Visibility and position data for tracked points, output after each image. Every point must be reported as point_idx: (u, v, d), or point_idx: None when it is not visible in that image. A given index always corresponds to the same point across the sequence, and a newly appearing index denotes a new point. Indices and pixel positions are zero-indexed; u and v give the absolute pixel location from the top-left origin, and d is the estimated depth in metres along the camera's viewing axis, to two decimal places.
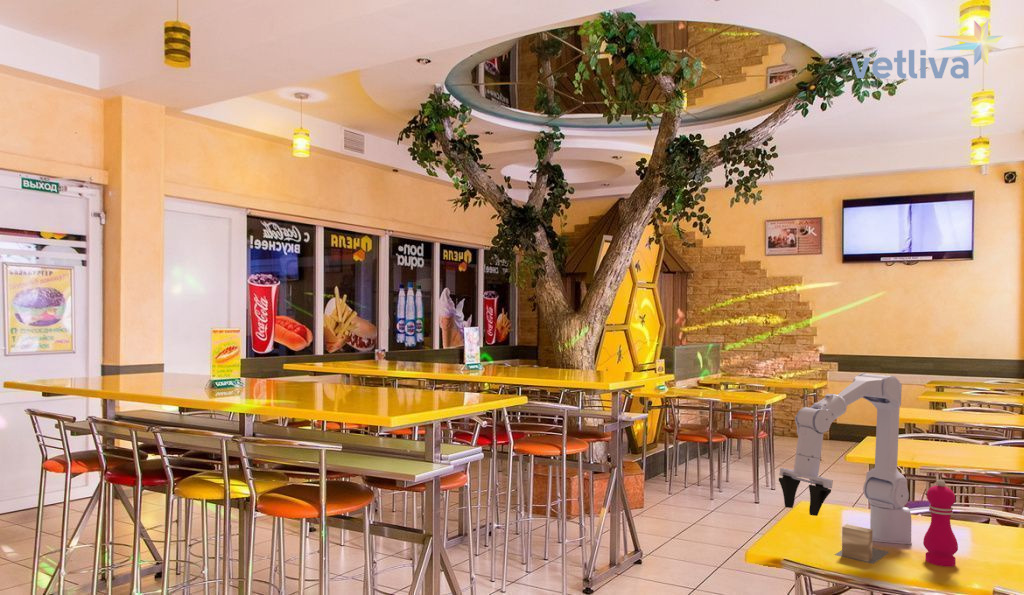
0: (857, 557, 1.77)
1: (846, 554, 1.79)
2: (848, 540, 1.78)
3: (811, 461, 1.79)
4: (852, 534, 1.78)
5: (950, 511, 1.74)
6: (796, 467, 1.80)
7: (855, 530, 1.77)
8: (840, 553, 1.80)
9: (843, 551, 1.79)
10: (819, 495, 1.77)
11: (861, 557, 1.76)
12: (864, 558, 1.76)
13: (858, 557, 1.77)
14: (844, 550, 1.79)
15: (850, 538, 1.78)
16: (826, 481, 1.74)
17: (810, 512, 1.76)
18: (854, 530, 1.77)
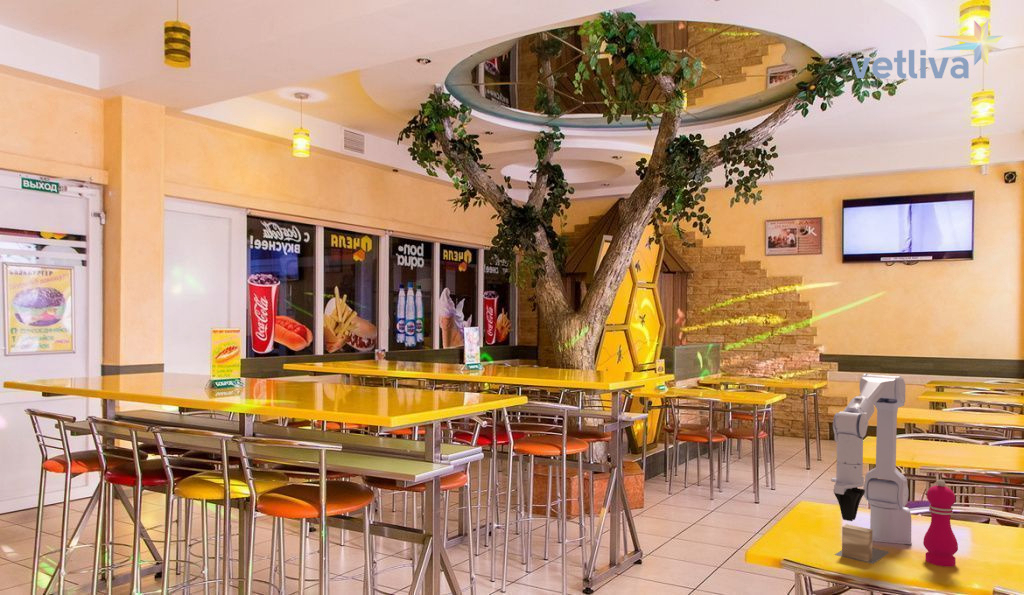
0: (857, 557, 1.77)
1: (846, 554, 1.79)
2: (848, 540, 1.78)
3: (839, 466, 1.74)
4: (852, 534, 1.78)
5: (950, 511, 1.74)
6: None
7: (855, 530, 1.77)
8: (840, 553, 1.80)
9: (843, 551, 1.79)
10: (849, 500, 1.73)
11: (861, 557, 1.76)
12: (864, 558, 1.76)
13: (858, 557, 1.77)
14: (844, 550, 1.79)
15: (850, 538, 1.78)
16: (834, 486, 1.70)
17: None
18: (854, 530, 1.77)
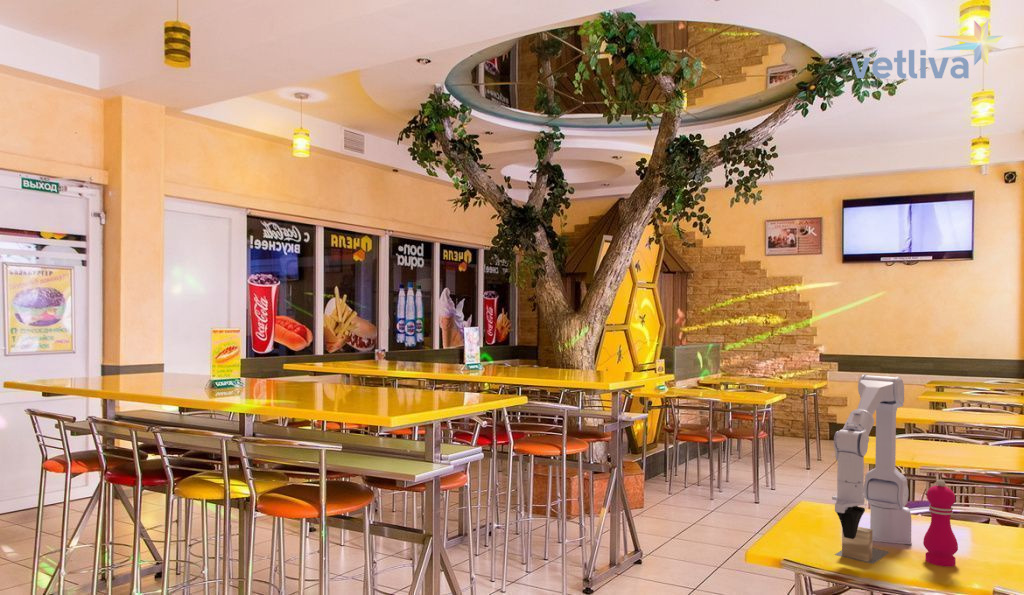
0: (857, 557, 1.77)
1: (846, 554, 1.79)
2: (848, 540, 1.78)
3: (840, 485, 1.74)
4: None
5: (950, 511, 1.74)
6: None
7: None
8: (840, 553, 1.80)
9: (843, 551, 1.79)
10: (851, 518, 1.74)
11: (861, 557, 1.76)
12: (864, 558, 1.76)
13: (858, 557, 1.77)
14: (844, 550, 1.79)
15: None
16: (835, 505, 1.70)
17: None
18: None
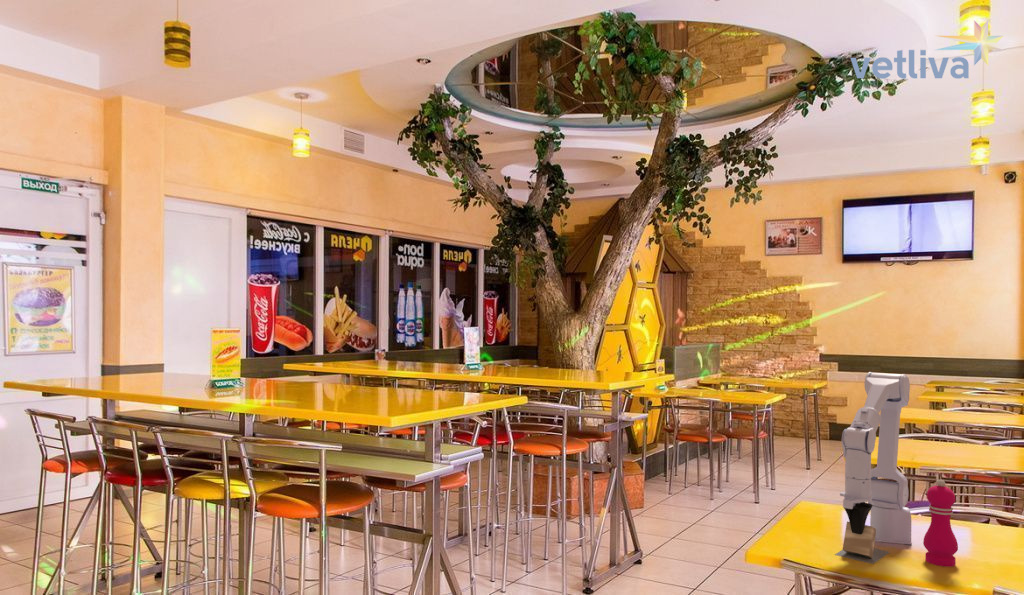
0: (858, 551, 1.77)
1: (846, 549, 1.79)
2: (851, 534, 1.80)
3: (848, 481, 1.78)
4: None
5: (950, 511, 1.74)
6: None
7: None
8: (840, 553, 1.80)
9: (844, 545, 1.80)
10: (858, 513, 1.78)
11: (862, 551, 1.77)
12: (865, 552, 1.76)
13: (859, 551, 1.77)
14: (845, 545, 1.79)
15: (853, 533, 1.80)
16: (843, 501, 1.74)
17: None
18: None
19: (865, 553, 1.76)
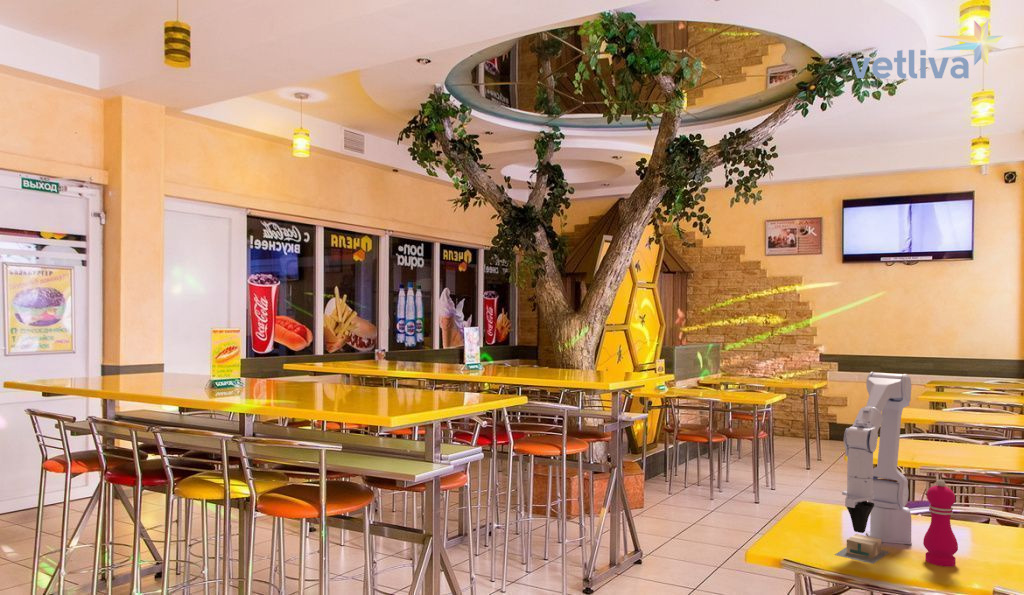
0: (862, 542, 1.79)
1: (851, 540, 1.81)
2: (858, 537, 1.83)
3: (850, 480, 1.79)
4: (865, 537, 1.84)
5: (950, 511, 1.74)
6: None
7: (868, 536, 1.84)
8: (840, 553, 1.80)
9: (849, 539, 1.82)
10: (860, 512, 1.79)
11: (866, 543, 1.79)
12: (869, 544, 1.78)
13: (863, 542, 1.79)
14: (850, 539, 1.82)
15: (860, 537, 1.84)
16: (845, 500, 1.75)
17: None
18: (867, 536, 1.84)
19: (869, 544, 1.78)
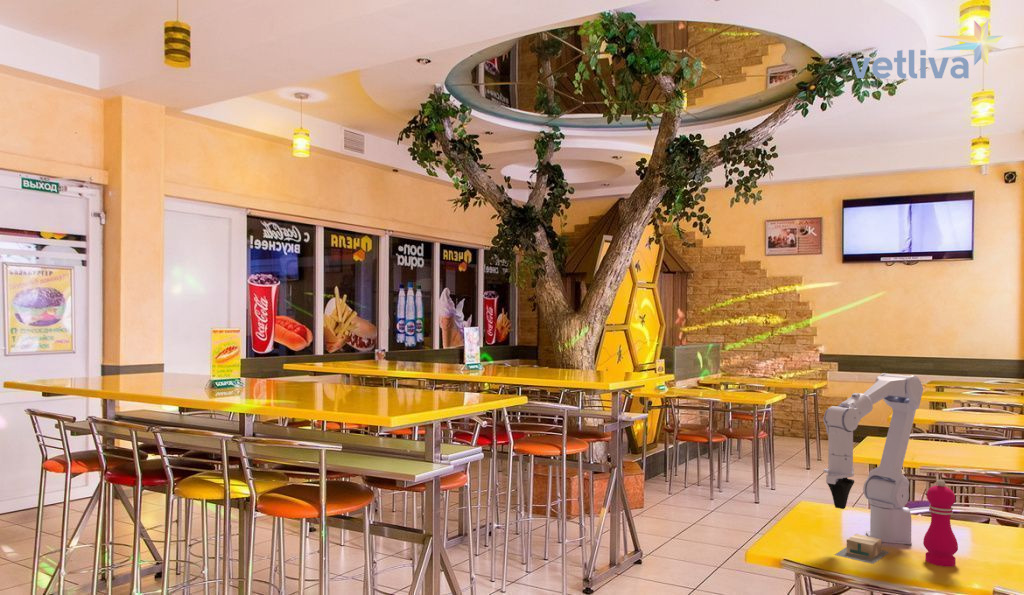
0: (862, 542, 1.79)
1: (851, 540, 1.81)
2: (858, 537, 1.83)
3: (831, 458, 1.85)
4: (865, 537, 1.84)
5: (950, 511, 1.74)
6: None
7: (868, 536, 1.84)
8: (840, 553, 1.80)
9: (849, 539, 1.82)
10: (841, 489, 1.84)
11: (866, 543, 1.79)
12: (869, 544, 1.78)
13: (863, 542, 1.79)
14: (850, 539, 1.82)
15: (860, 537, 1.84)
16: None
17: None
18: (867, 536, 1.84)
19: (869, 544, 1.78)
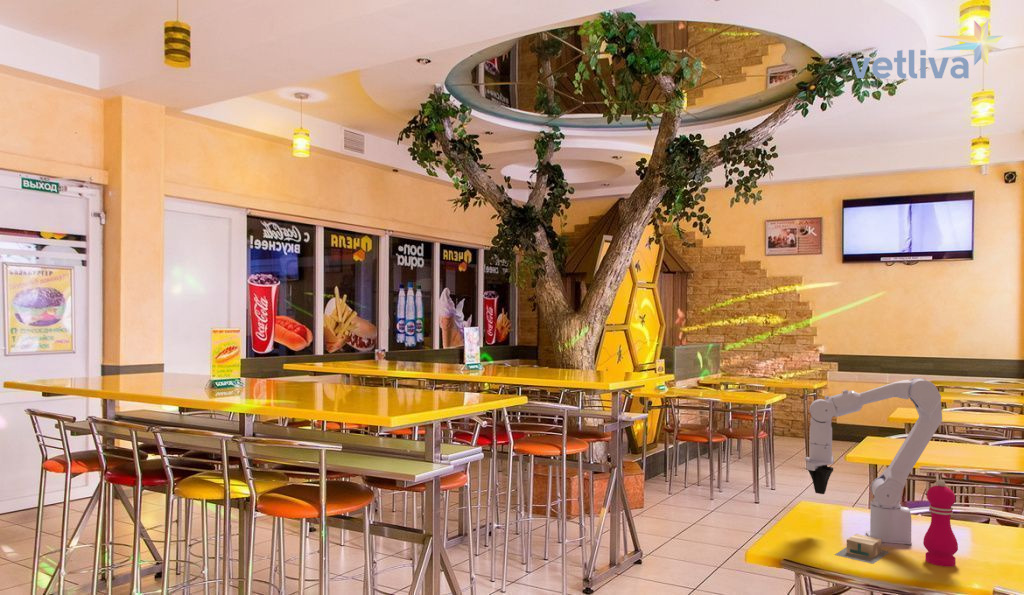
0: (862, 542, 1.79)
1: (851, 540, 1.81)
2: (858, 537, 1.83)
3: (812, 447, 2.00)
4: (865, 537, 1.84)
5: (950, 511, 1.74)
6: None
7: (868, 536, 1.84)
8: (840, 553, 1.80)
9: (849, 539, 1.82)
10: (821, 476, 1.99)
11: (866, 543, 1.79)
12: (869, 544, 1.78)
13: (863, 542, 1.79)
14: (850, 539, 1.82)
15: (860, 537, 1.84)
16: None
17: None
18: (867, 536, 1.84)
19: (869, 544, 1.78)
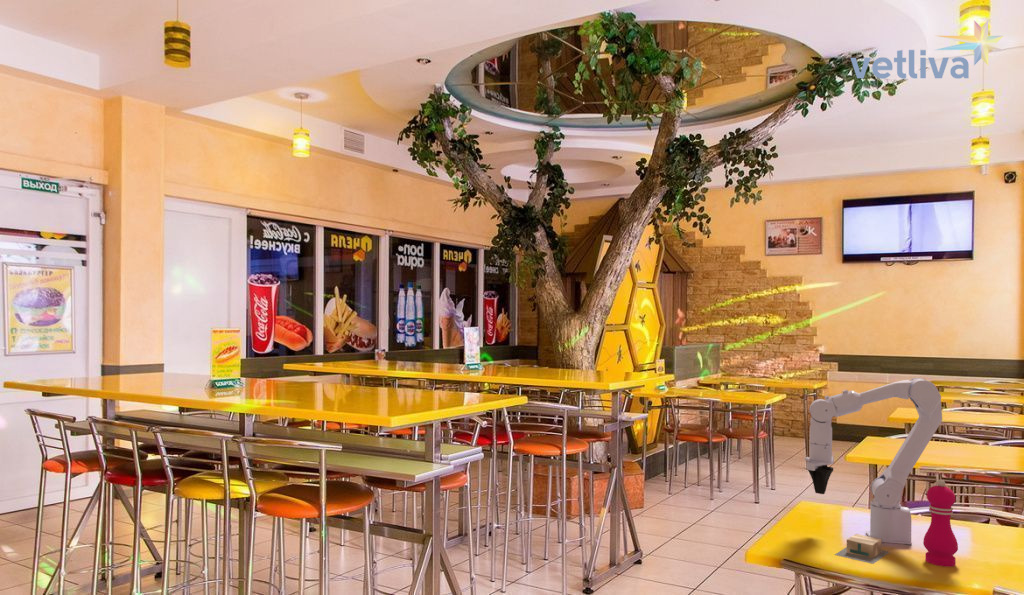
0: (862, 542, 1.79)
1: (851, 540, 1.81)
2: (858, 537, 1.83)
3: (812, 447, 2.00)
4: (865, 537, 1.84)
5: (950, 511, 1.74)
6: None
7: (868, 536, 1.84)
8: (840, 553, 1.80)
9: (849, 539, 1.82)
10: (821, 476, 1.99)
11: (866, 543, 1.79)
12: (869, 544, 1.78)
13: (863, 542, 1.79)
14: (850, 539, 1.82)
15: (860, 537, 1.84)
16: None
17: None
18: (867, 536, 1.84)
19: (869, 544, 1.78)
